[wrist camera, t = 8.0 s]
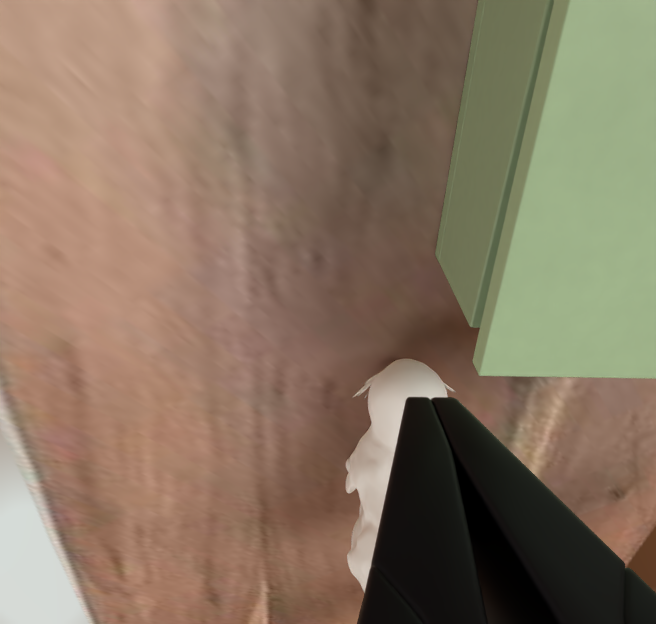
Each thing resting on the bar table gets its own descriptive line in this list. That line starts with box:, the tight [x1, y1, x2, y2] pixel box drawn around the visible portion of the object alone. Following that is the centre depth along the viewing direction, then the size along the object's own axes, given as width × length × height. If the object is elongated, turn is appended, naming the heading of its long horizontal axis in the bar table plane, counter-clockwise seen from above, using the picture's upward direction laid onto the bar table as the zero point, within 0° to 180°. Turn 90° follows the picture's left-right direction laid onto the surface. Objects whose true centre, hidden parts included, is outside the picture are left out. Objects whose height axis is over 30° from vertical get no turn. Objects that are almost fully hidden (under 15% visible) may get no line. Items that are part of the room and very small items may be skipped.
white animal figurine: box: [346, 359, 455, 593], centre depth 23 cm, size 6×8×12 cm
